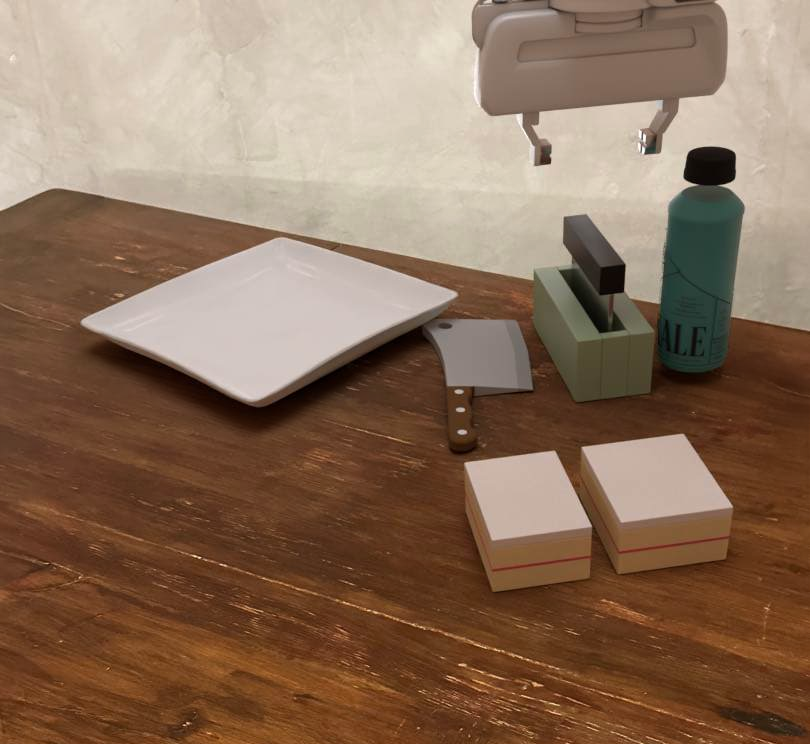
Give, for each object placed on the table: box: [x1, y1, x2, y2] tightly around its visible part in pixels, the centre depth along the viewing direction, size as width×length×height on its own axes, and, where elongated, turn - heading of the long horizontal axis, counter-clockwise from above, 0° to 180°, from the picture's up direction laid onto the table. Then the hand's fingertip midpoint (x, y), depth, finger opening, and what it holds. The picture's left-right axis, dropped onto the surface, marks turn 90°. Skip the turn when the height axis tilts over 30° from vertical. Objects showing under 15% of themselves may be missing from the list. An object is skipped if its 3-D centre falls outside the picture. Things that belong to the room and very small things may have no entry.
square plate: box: [80, 236, 459, 408], centre depth 112 cm, size 27×27×4 cm
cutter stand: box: [532, 263, 656, 403], centre depth 104 cm, size 7×16×6 cm, turn 8°
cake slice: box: [463, 450, 593, 593], centre depth 82 cm, size 7×10×5 cm
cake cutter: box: [562, 213, 627, 334], centre depth 102 cm, size 2×12×12 cm, turn 9°
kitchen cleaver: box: [421, 318, 534, 452], centre depth 103 cm, size 24×1×10 cm
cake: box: [578, 433, 734, 575], centre depth 83 cm, size 8×10×5 cm
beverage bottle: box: [654, 145, 746, 373], centre depth 96 cm, size 6×7×20 cm
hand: (595, 158), depth 95 cm, fingers open, 8 cm apart
